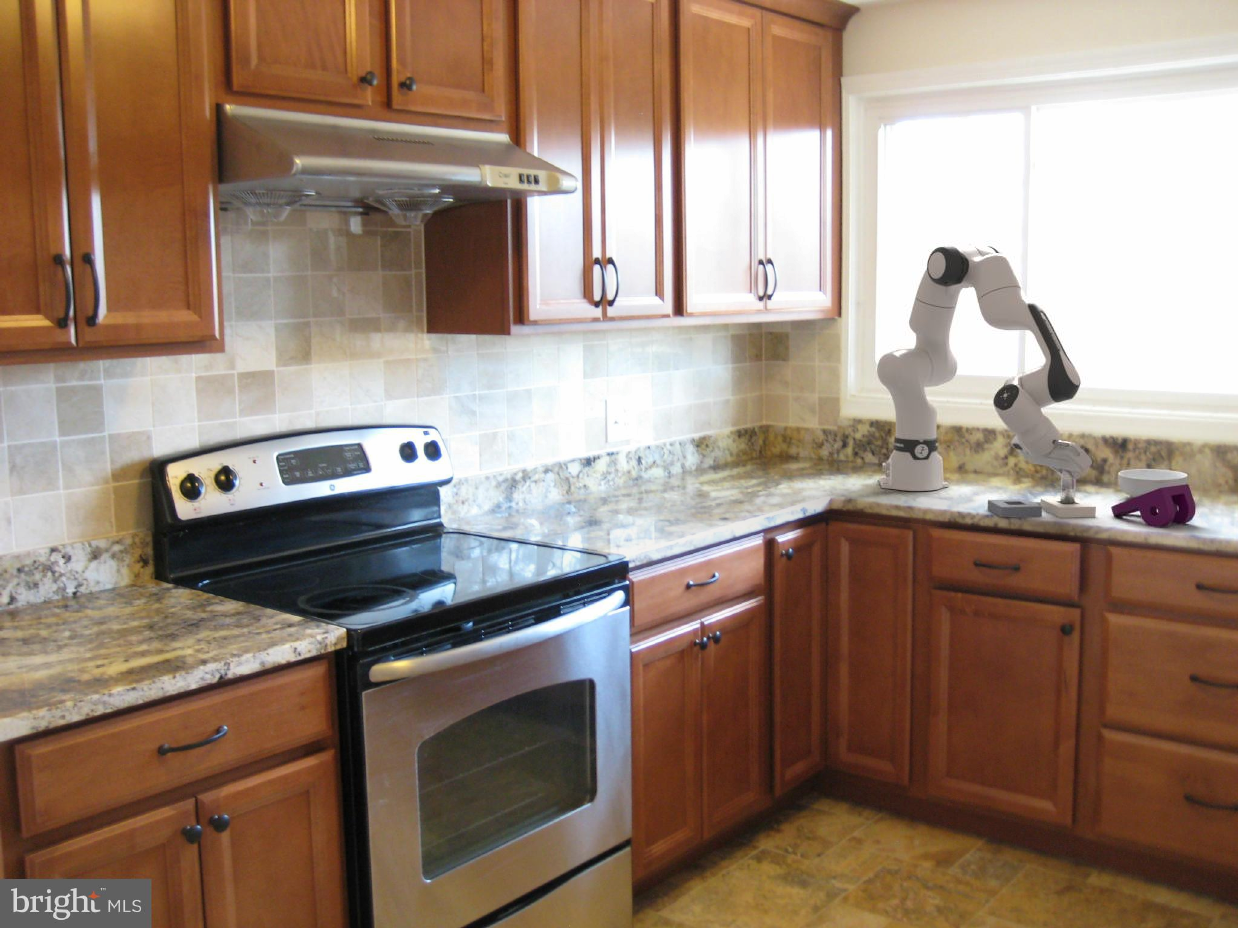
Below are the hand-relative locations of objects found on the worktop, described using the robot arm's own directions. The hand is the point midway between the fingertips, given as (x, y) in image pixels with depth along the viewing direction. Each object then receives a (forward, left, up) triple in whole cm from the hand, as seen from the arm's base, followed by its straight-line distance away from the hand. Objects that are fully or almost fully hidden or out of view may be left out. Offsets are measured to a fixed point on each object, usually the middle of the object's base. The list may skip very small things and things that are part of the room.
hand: (1070, 475), depth 299 cm
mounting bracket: (+12, +14, -10) cm, 21 cm away
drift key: (-10, -5, -10) cm, 15 cm away
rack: (0, -1, -9) cm, 9 cm away
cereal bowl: (-14, +27, -10) cm, 32 cm away
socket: (-1, -14, -9) cm, 17 cm away
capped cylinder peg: (0, -1, -8) cm, 8 cm away
